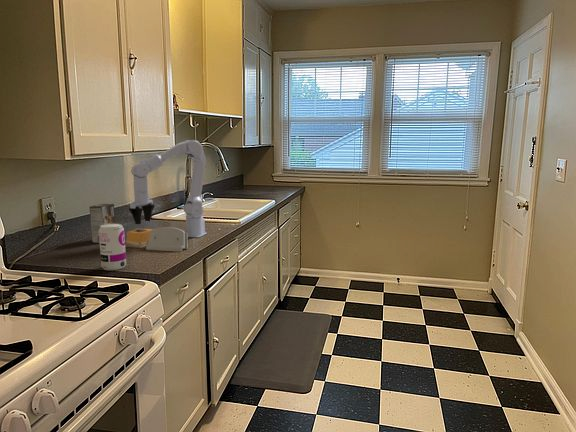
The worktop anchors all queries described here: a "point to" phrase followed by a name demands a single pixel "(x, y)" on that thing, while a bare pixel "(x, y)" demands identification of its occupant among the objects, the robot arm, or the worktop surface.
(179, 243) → the grey napkin holder
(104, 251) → the supplement can
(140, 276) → the worktop surface
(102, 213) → the coffee box
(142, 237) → the orange square frame
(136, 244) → the keeper board
